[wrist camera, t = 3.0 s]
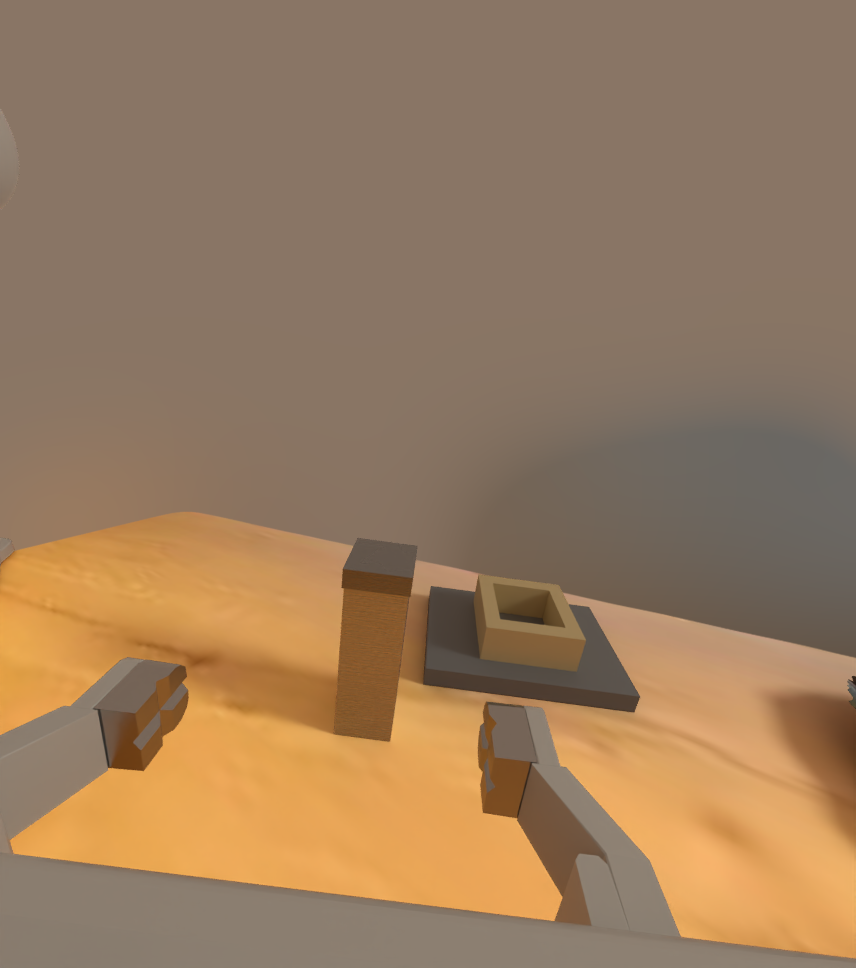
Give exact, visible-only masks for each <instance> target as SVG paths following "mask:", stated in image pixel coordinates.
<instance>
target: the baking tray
mask: <svg viewBox="0 0 856 968" xmlns="http://www.w3.org/2000/svg"><path fill="white" fill-rule="evenodd" d="M852 678H853V681H851V680H849V679H848V684H849V685H847V686H848V687H849V689H848V691H849V692H850V694H851V695H852V697H853V700H851V701H849V702H850V703H851V705H852V706H853V707H854V708H855V709H856V677H855V676H852Z"/></svg>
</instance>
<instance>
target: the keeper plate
mask: <svg viewBox="0 0 856 968" xmlns="http://www.w3.org/2000/svg"><path fill="white" fill-rule="evenodd" d="M423 684H425V685H433V686H441V687H448V688H456V689H463V690H471V691H478V692H486V693H493V694H501V695H509V696H516V697H524V698H531V699H539V700H546V701H554V702H561V703H569V704H577V705H584V706H592V707H599V708H607V709H614V710H622V711H629V712H635V709H636V706H637V704H638V701H639V698H640V696H639V694H638V692H637V690H636V689H635V687H634V685H633V683H632V682H631V680H630V678H629V676H628V675H627V673H626V671H625V669H624V668H623V666H622V664H621V662H620V661H619V659H618V657H617V655H616V654H615V652H614V650H613V648H612V647H611V645H610V643H609V641H608V640H607V638H606V636H605V634H604V633H603V631H602V629H601V627H600V626H599V624H598V622H597V620H596V619H595V617H594V615H593V613H592V612H591V610H590V608H589V607H585V606H577V605H570V604H568V603H567V601H566V599H565V597H564V595H563V593H562V591H561V589H560V587H559V585H554V584H547V583H539V582H532V581H524V580H516V579H509V578H501V577H494V576H486V575H478V580H477V586H476V591H475V592H471V591H464V590H456V589H449V588H441V587H434V586H431V589H430V596H429V607H428V622H427V637H426V652H425V667H424V682H423Z"/></svg>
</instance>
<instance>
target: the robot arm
mask: <svg viewBox="0 0 856 968" xmlns="http://www.w3.org/2000/svg"><path fill="white" fill-rule="evenodd" d="M18 177H19V157H18V151H17V147H16V143H15V140H14V137H13V134H12V131H11V129H10V126H9V124H8V122H7V120H6V118H5V116H4V114H3V112H2V110H1V108H0V210H1V209H2V208H3V207H4V206H5V205H6V204H7V203H8V201H9V200H10V198H11V197H12V195H13V193H14V191H15V189H16V186H17V182H18ZM14 550H15V549H14V546H13V544H12V541H11V540H10V539H6V538H0V565H1V563H2V561H4V560H5V559H6V558H7V557H8V556H9V555H11V554H12V553H13V551H14ZM186 677H187V674H186V668H185V666H182V665H178V664H172V663H165V662H158V661H152V660H142V659H136V658H129V657H127V658H125V659H122V660H120V661H119V662H118V663H117V664H116V665H115V666H114V667H113V668H111V669H110V670H109V671H108V672H107V673H106V674H105V675H104V676H103V677H102V678H101V679H99V680H98V681H97V682H96V683H95V684H94V685H93V686H92V687H91V688H90V689H89V690H87V691H86V692H85V693H84V694H83V695H82V696H81V697H80V698H79V699H78V700H77V701H75V702H74V703H73V704H72V705H71V706H63V707H60V708H58V709H56V710H54V711H52V712H50V713H47V714H45V715H43V716H41V717H39V718H37V719H34V720H32V721H30V722H28V723H26V724H24V725H21V726H19V727H17V728H15V729H13V730H11V731H8V732H6V733H4V734H2V735H0V968H856V959H854V958H846V957H838V956H830V955H822V954H814V953H806V952H798V951H790V950H782V949H774V948H766V947H758V946H750V945H742V944H733V943H725V942H717V941H709V940H701V939H693V938H685V937H681V936H680V934H679V931H678V929H677V926H676V924H675V921H674V919H673V916H672V914H671V912H670V909H669V907H668V904H667V902H666V899H665V897H664V894H663V892H662V890H661V887H660V885H659V882H658V880H657V877H656V875H655V872H654V870H653V868H652V865H651V863H650V861H649V859H648V858H647V857H646V856H645V855H644V854H643V853H642V852H641V850H640V849H639V848H638V847H637V846H636V845H635V844H634V843H633V842H632V840H631V839H630V838H629V837H628V836H627V835H626V834H625V833H624V831H623V830H622V829H621V828H620V827H619V826H618V825H617V824H616V823H615V821H614V820H613V819H612V818H611V817H610V816H609V815H608V814H607V812H606V811H605V810H604V809H603V808H602V807H601V806H600V805H599V804H598V802H597V801H596V800H595V799H594V798H593V797H592V796H591V795H590V793H589V792H588V791H587V790H586V789H585V788H584V787H583V786H582V785H581V783H580V782H579V781H578V780H577V779H576V778H575V777H574V776H573V774H572V773H571V772H570V771H569V770H568V769H567V768H566V767H560V764H559V760H558V757H557V753H556V750H555V746H554V743H553V740H552V736H551V733H550V729H549V726H548V722H547V719H546V715H545V712H544V710H543V709H542V708H539V707H530V706H521V705H512V704H503V703H494V702H486V703H485V705H484V710H483V718H484V723H483V724H482V725H481V726H480V731H479V739H478V763H479V768H480V769H481V770H482V772H483V773H482V778H481V783H480V787H481V798H482V809H483V813H487V814H493V815H500V816H506V817H513V818H518V819H517V821H518V822H519V824H520V826H521V828H522V829H523V831H524V833H525V834H526V836H527V838H528V839H529V841H530V843H531V844H532V846H533V848H534V850H535V851H536V853H537V855H538V856H539V858H540V860H541V861H542V863H543V865H544V866H545V868H546V870H547V872H548V873H549V875H550V877H551V878H552V880H553V882H554V883H555V885H556V887H557V888H558V890H559V892H560V894H561V895H562V897H563V898H562V901H561V904H560V907H559V910H558V913H557V916H556V919H555V921H549V920H541V919H533V918H525V917H517V916H509V915H500V914H492V913H484V912H476V911H468V910H460V909H452V908H444V907H436V906H428V905H420V904H412V903H404V902H396V901H388V900H380V899H372V898H364V897H356V896H348V895H340V894H331V893H323V892H315V891H307V890H299V889H291V888H283V887H275V886H267V885H259V884H251V883H243V882H235V881H227V880H219V879H211V878H202V877H194V876H186V875H178V874H170V873H162V872H154V871H146V870H138V869H130V868H122V867H114V866H106V865H98V864H90V863H82V862H74V861H66V860H58V859H50V858H42V857H34V856H26V855H18V854H14V853H13V850H12V847H11V843H10V839H12V838H13V837H15V836H16V835H18V834H19V833H20V832H22V831H23V830H25V829H26V828H27V827H29V826H30V825H32V824H33V823H34V822H36V821H37V820H39V819H40V818H41V817H43V816H44V815H46V814H47V813H48V812H50V811H51V810H53V809H54V808H56V807H57V806H58V805H60V804H61V803H63V802H64V801H65V800H67V799H68V798H70V797H71V796H72V795H74V794H75V793H77V792H78V791H79V790H81V789H82V788H84V787H85V786H86V785H88V784H89V783H91V782H92V781H94V780H95V779H96V778H98V777H99V776H101V775H102V774H103V773H105V772H106V771H108V768H115V769H127V770H138V771H144V770H145V769H146V767H147V766H148V765H149V763H150V762H151V761H152V759H153V758H154V757H155V755H156V754H157V752H158V751H159V750H160V748H161V747H162V746H163V736H164V735H166V734H168V733H169V732H171V731H173V730H174V729H175V728H176V726H177V725H178V724H179V722H180V721H181V719H182V717H183V715H184V713H185V710H186V708H187V704H188V698H189V697H188V689H187V688H186V687H185V686H184V685H183V683H182V682H183V681H184V680H185V678H186Z"/></svg>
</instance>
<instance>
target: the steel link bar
mask: <svg viewBox="0 0 856 968" xmlns="http://www.w3.org/2000/svg"><path fill="white" fill-rule="evenodd" d="M416 553H417V546H414V545H406V544H399V543H391V542H383V541H376V540H368V539H361V538H357V541H356V543H355V545H354V547H353V549H352V551H351V553H350V555H349V557H348V559H347V561H346V563H345V565H344V568H343V574H342V588H344V592H343V607H342V622H341V636H340V651H339V665H338V680H337V695H336V709H335V724H334V734H338V735H345V736H353V737H360V738H368V739H375V740H383V741H390V738H391V731H392V724H393V717H394V710H395V703H396V696H397V689H398V681H399V673H400V665H401V657H402V650H403V642H404V634H405V626H406V619H407V611H408V603H409V597H410V596H411V589H412V582H413V575H414V568H415V561H416Z"/></svg>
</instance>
